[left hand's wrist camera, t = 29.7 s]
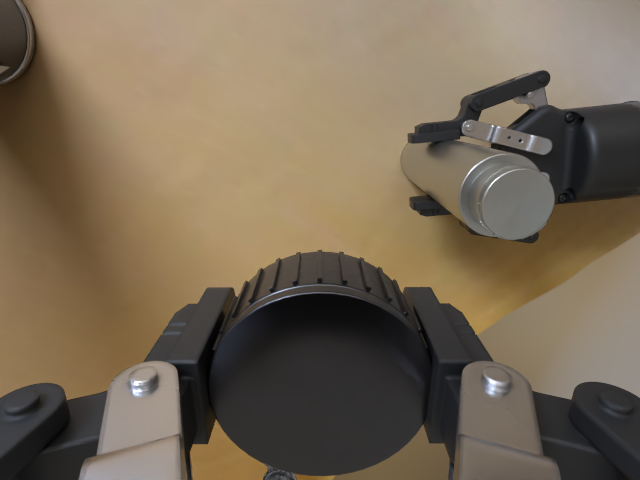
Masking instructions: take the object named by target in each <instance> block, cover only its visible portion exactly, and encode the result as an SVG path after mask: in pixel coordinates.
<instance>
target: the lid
mask: <svg viewBox="0 0 640 480" xmlns="http://www.w3.org/2000/svg"><path fill="white" fill-rule="evenodd" d="M421 332H423V331H422V329H421V326H420V324H419V322H418V319H417V317H416V315H415V313H414V310H413V308H412V306H411V303H410V301H409V299H408V297H407V295H406V294H405V295H403V294H402V292H401V291H400V289H399V286H398V284H397V281H396V280H395V279H394V280H393V281H392V280H391V279H390V278H389V277H388V276H387V275H386V274H384V273H383V270H382V268H380V267H378V268H376V267H374V266H373V265H371V264H369V263H367V262H365V261H364V259H363V258H361V257H360V259H358V258H356V257H352V256H348V255H345V254H344V252H339V253H333V252H322V250H318V252H310V253H302V254H301V252H298V253H296V255H293V256H290V257H287V258H284V259H280V258H279V259H276V262H275V263H273V264H271V265H269V266H268V267H266V268H265V269H262V268H260V269H259V270H258V273H257V274H256V275H255V276H254V277H253V278H252V279H251V280H250V281H249V282H248V281H246V282H245V283H244V284H243V287H242V289H241V292H240V294H239V296H238V297H237V296H235V297H234V298H233V301H232V303H231V305H230V308H229V310H228V312H227V315H226V317H225V320H224V322H223V324H222V327H221V329H220V331H219V334H218V337H217V339H216V342H215V344H214V346H213V349H212V353H214V355H213V357H212V360H211V364H210V368H209V373H208V393H209V399H210V403H211V407H212V410H213V412H214V415H215V417H216V419H217V421H218V423H219V424H220V426H221V428H222V429H223V431H224V432H225V433H226V434H227V436H228V437H229V438H230V439H231V440H232V441H233V442H234V443H235V444H236V445H237V446H238V447H239V448H240V449H242V450H243V451H244V452H246V453H247V454H248V455H250V456H251V457H253V458H255V459H256V460H258V461H260V462H262V463H264V464H266V465H269V466H271V467H273V468H276V469H279V470H283V471H286V472H290V473H295V474H301V475H309V476H332V475H341V474H347V473H352V472H356V471H359V470H363V469H366V468H368V467H371V466H374V465H376V464H378V463H380V462H382V461H384V460H386V459H388V458H389V457H391V456H392V455H394V454H395V453H397V452H398V451H399V450H401V449H402V448H403V447H404V446H405V445H406V444H408V443H409V442H410V440H411V439H412V438H413V437H414V436H415V435H416V434H417V432H418V431H419V429H420V428H421V427H422V425H423V424H424V422H425V420H426V418H427V411H428V402H429V394H430V385H431V377H432V362H431V359H430V356H429V353H428V351H427V348H428V347H427V345H426V342H425V340H424V338H423V335H422V333H421Z"/></svg>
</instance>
